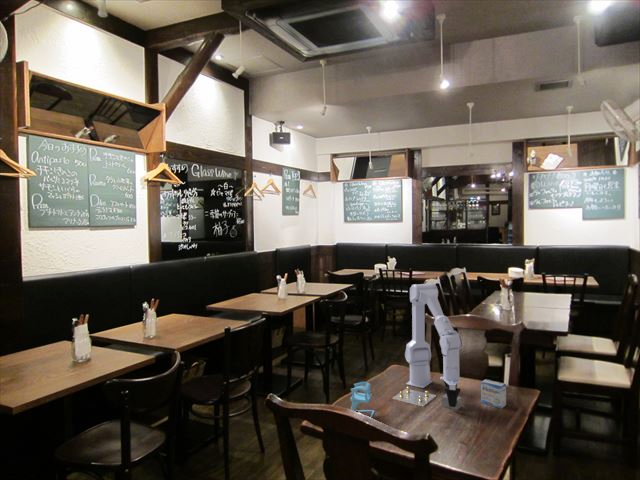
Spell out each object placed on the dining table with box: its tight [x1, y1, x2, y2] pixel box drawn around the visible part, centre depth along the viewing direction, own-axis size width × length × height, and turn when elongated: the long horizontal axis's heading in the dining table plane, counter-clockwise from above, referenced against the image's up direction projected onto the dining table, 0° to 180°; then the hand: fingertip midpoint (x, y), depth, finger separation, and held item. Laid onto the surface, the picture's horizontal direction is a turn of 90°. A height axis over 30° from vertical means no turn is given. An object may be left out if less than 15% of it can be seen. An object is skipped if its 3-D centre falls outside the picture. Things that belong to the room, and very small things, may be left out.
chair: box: [349, 381, 375, 417], centre depth 157 cm, size 8×8×12 cm
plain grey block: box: [441, 393, 463, 411], centre depth 163 cm, size 9×11×5 cm
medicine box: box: [480, 378, 507, 409], centre depth 164 cm, size 8×4×9 cm, turn 47°
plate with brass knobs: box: [392, 386, 437, 407], centre depth 172 cm, size 12×13×3 cm
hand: (451, 402), depth 163 cm, fingers open, 7 cm apart
